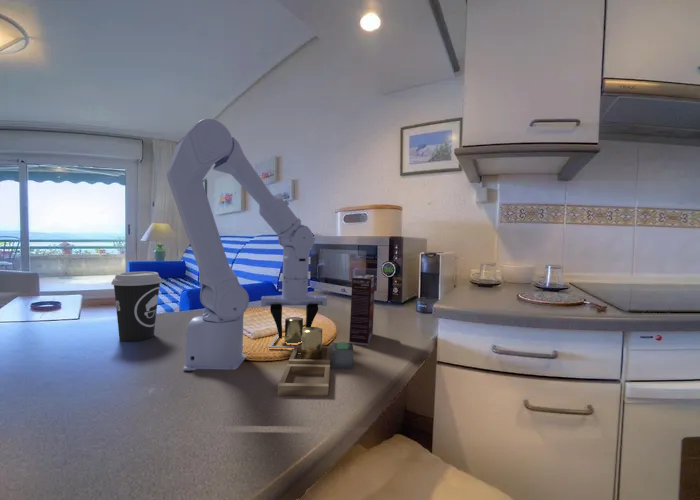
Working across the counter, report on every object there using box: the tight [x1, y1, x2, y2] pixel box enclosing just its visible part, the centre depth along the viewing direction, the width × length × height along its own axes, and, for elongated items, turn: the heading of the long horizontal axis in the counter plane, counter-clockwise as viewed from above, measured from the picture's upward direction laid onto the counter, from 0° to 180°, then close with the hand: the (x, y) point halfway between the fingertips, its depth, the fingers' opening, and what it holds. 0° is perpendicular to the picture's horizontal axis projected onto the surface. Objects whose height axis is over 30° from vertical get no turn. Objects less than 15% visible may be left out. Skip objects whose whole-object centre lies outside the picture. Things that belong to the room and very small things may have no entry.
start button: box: [336, 341, 349, 349], centre depth 55 cm, size 2×2×4 cm
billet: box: [284, 316, 304, 343], centre depth 66 cm, size 4×4×6 cm
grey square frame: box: [267, 334, 295, 349], centre depth 66 cm, size 9×9×1 cm
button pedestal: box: [331, 342, 354, 370], centre depth 55 cm, size 4×4×4 cm
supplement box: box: [348, 273, 376, 346], centre depth 70 cm, size 9×5×16 cm, turn 168°
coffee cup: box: [111, 271, 163, 343], centre depth 67 cm, size 10×10×15 cm
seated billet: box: [300, 326, 323, 360], centre depth 56 cm, size 4×4×6 cm
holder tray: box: [276, 345, 332, 397], centre depth 52 cm, size 8×17×2 cm, turn 2°
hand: (293, 336), depth 66 cm, fingers open, 5 cm apart
